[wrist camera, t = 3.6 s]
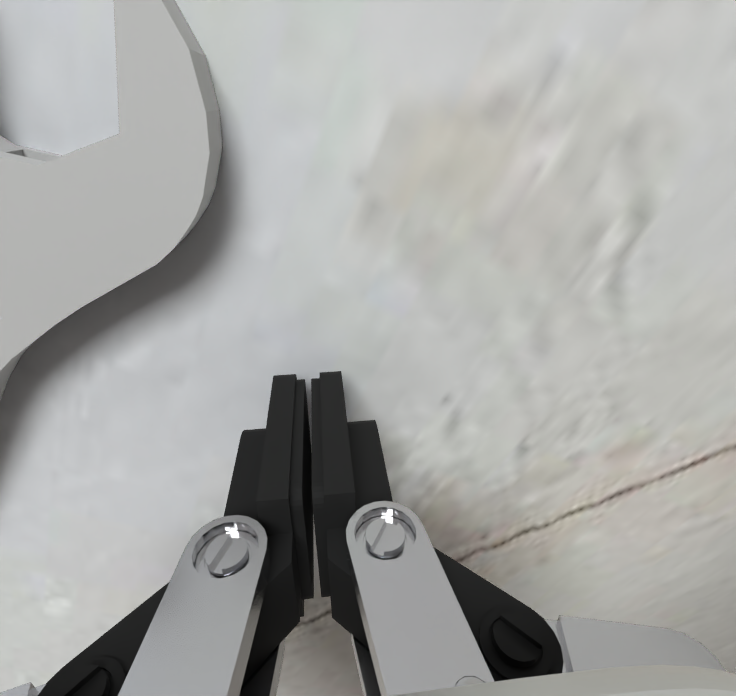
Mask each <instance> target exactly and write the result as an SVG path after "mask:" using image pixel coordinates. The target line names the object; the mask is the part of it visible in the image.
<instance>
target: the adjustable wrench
mask: <svg viewBox="0 0 736 696" xmlns="http://www.w3.org/2000/svg"><path fill="white" fill-rule="evenodd" d="M114 20H115V43H116V67H117V90H118V113H119V134H117V135H114V136H112V137H109V138H107V139H104V140H101V141H99V142H96V143H94V144H91V145H89V146H86V147H84V148H81V149H78V150H76V151H73V152H71V153H68V154H66V155H63V156H62V155H58V154H54V153H50V152H45V151H41V150H37V149H33V148H28V147H23V146H18V145H15V144H13V143H12V142H10V141H9V140H7V139H6V138H4V137H2V136H1V135H0V401H1V398H2V395H3V393H4V390H5V387H6V385H7V382H8V379H9V377H10V375H11V373H12V371H13V370H14V368H15V366H16V364H17V363H18V361H19V359H20V357H21V355H22V354H23V353H24V352H25V351H26V350H27V349H28V348H29V347H30V346H31V345H32V343H33V342H34V341H35V340H36V339H38V338H39V337H40V336H42V335H43V334H44V333H45V332H47V331H48V330H49V329H51V328H52V327H53V326H54V325H56V324H57V323H59V322H60V321H62V320H63V319H65V318H66V317H68V316H69V315H71V314H72V313H74V312H75V311H77V310H78V309H80V308H81V307H83V306H85V305H86V304H88V303H90V302H92V301H93V300H95V299H97V298H99V297H100V296H102V295H104V294H106V293H107V292H109V291H111V290H113V289H114V288H116V287H118V286H120V285H121V284H123V283H125V282H127V281H128V280H130V279H132V278H134V277H135V276H137V275H139V274H141V273H142V272H144V271H146V270H148V269H149V268H151V267H153V266H155V265H156V264H158V263H159V262H160V261H161V260H162V259H163V258H164V257H165V256H166V255H168V254H169V253H170V252H171V251H172V250H173V249H174V248H175V247H176V246H177V245H178V244H179V243H180V242H181V241H182V240H183V239H184V238H185V237H186V236H187V235H188V234H189V232H190V231H191V230H192V228H193V227H194V226H195V225H196V223H197V222H198V221H199V219H200V218H201V216H202V215H203V213H204V211H205V210H206V208H207V207H208V205H209V203H210V201H211V198H212V195H213V193H214V190H215V188H216V183H217V177H218V171H219V165H220V159H221V153H222V134H221V120H220V110H219V106H218V102H217V98H216V94H215V90H214V86H213V82H212V79H211V75H210V71H209V67H208V63H207V59H206V56H205V54H204V52H203V50H202V48H201V47H200V45H199V43H198V41H197V39H196V37H195V36H194V34H193V32H192V30H191V28H190V27H189V25H188V23H187V21H186V19H185V18H184V16H183V14H182V12H181V10H180V8H179V7H178V5H177V3H176V1H175V0H114Z"/></svg>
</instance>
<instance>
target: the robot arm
mask: <svg viewBox="0 0 736 696" xmlns="http://www.w3.org/2000/svg"><path fill="white" fill-rule="evenodd" d="M311 392H312V452H311V441H310V430H309V419H308V408H307V397H306V386H305V379H303V380H297V377H296V374H292V375H277V376H274V377H273V383H272V390H271V397H270V404H269V411H268V418H267V425H266V429H254V430H244V431H243V432H242V435H241V438H240V443H239V448H238V453H237V457H236V462H235V467H234V471H233V476H232V481H231V485H230V490H229V495H228V499H227V504H226V509H225V513H224V517H222V518H219V519H216V520H213V521H212V522H210V523H208V524H207V525H205V526H203V527H202V528H201V529H200V530H199V531H198V532H197V533H195V534H194V535H193V536H192V538H191V539H190V541H189V543H188V544H187V546H186V547H185V549H184V552H183V554H182V556H181V558H180V560H179V563H178V565H177V567H176V569H175V571H174V574H173V576H172V578H171V580H170V582H169V583H167V584H166V585H165V586H164V587H162V588H161V589H160V590H159V591H157V592H156V593H155V594H154V595H152V596H151V597H150V598H149V599H147V600H146V601H145V602H144V603H142V604H141V605H140V606H139V607H137V608H136V609H135V610H134V611H132V612H131V613H130V614H129V615H127V616H126V617H125V618H124V619H122V620H121V621H120V622H119V623H117V624H116V625H115V626H114V627H112V628H111V629H110V630H109V631H107V632H106V633H105V634H104V635H103V636H101V637H100V638H99V639H98V640H96V641H95V642H94V643H93V644H91V645H90V646H89V647H88V648H86V649H85V650H84V651H83V652H81V653H80V654H79V655H78V656H76V657H75V658H74V659H73V660H71V661H70V662H69V663H68V664H66V665H65V666H64V667H63V668H62V669H61V670H60V671H58V672H57V673H56V674H55V675H54V676H53V677H52V678H51V679H50V680H49V681H48V682H47V683H46V684H44V685H41V686H38V687H34V686H33V684H32V683H31V682H30V683H27V684H24V685H21V686H18V687H15V688H13V689H10V690H7V691H4V692H1V693H0V696H276V693H277V688H278V683H279V677H280V672H281V666H282V661H283V656H284V650H285V637H286V636H287V635H288V634H289V633H290V632H291V631H292V630H293V628H294V627H295V626H296V625H297V624H298V623H299V622H300V617H302V616H304V599H310V598H313V597H314V565H313V514H314V524H315V535H316V545H317V555H318V566H319V576H320V586H321V596H322V597H328V596H331V607H332V618H333V619H335V620H336V621H337V622H338V623H339V624H340V625H342V626H343V627H344V628H345V629H346V630H347V631H349V632H350V633H351V642H352V647H353V651H354V656H355V660H356V665H357V669H358V674H359V678H360V683H361V687H362V692H363V696H736V673H731V672H727V671H725V669H724V668H723V666H722V665H721V663H720V662H719V661H718V659H717V658H716V657H715V656H714V655H713V654H712V653H711V652H710V651H709V650H708V649H707V648H706V647H705V646H703V645H702V644H701V643H700V642H698V641H697V640H695V639H693V638H691V637H690V636H688V635H686V634H685V633H682V632H679V631H675V630H672V629H668V628H661V627H652V626H644V625H636V624H628V623H619V622H611V621H603V620H595V619H586V618H578V617H570V616H562V615H559V618H558V620H557V621H555V620H547V619H544V618H542V617H541V616H540V615H539V614H537V613H536V612H535V611H534V610H532V609H531V608H529V607H528V606H526V605H525V604H523V603H521V602H520V601H518V600H517V599H515V598H513V597H512V596H510V595H509V594H507V593H506V592H504V591H502V590H501V589H499V588H498V587H496V586H494V585H493V584H491V583H490V582H488V581H486V580H485V579H483V578H482V577H480V576H478V575H477V574H475V573H474V572H472V571H471V570H469V569H467V568H466V567H464V566H463V565H461V564H459V563H458V562H456V561H455V560H453V559H451V558H450V557H448V556H447V555H445V554H443V553H442V552H440V551H439V550H437V549H436V548H434V547H433V546H432V543H431V541H430V539H429V537H428V535H427V532H426V530H425V528H424V526H423V524H422V522H421V521H420V519H419V518H418V516H417V515H416V514H415V513H414V512H413V511H412V510H410V509H409V508H408V507H406V506H404V505H401V504H399V503H396V502H393V501H392V496H391V491H390V486H389V482H388V477H387V472H386V467H385V462H384V458H383V453H382V448H381V443H380V438H379V434H378V429H377V424H376V421H375V420H370V421H357V422H347V418H346V409H345V400H344V392H343V383H342V375H341V371H337V372H322V373H320V378H318V379H312V380H311Z"/></svg>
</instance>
